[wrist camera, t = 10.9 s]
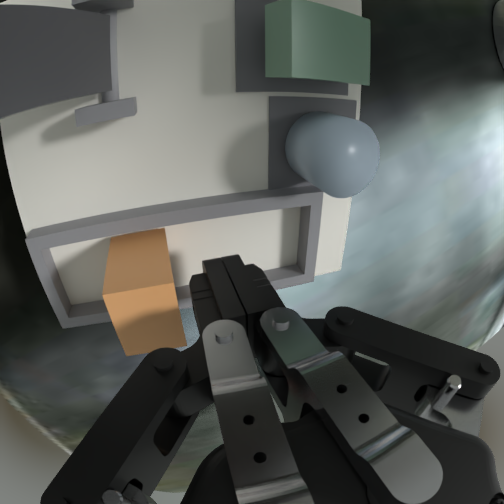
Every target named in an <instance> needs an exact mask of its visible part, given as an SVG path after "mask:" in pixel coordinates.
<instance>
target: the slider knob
mask: <svg viewBox="0 0 504 504" xmlns="http://www.w3.org/2000/svg"><path fill="white" fill-rule="evenodd" d="M102 296H103V299H104V302H105V304H106V307H107V310H108V312H109V315H110V317H111V320H112V323H113V325H114V328H115V330H116V333H117V335H118V337H119V340H120V342H121V344H122V347H123V349H124V351H125V354H126V356H131V355H137V354H143V353H149V352H152V351H153V350H156V349H159V348H164V347H168V348H177V347H183V346H187V343H186V339H185V334H184V329H183V325H182V320H181V315H180V310H179V305H178V300H177V295H176V290H175V284H174V279H173V274H172V268H171V262H170V257H169V251H168V245H167V239H166V232H165V228H161V229H155V230H149V231H144V232H138V233H132V234H127V235H121V236H116V237H111V240H110V246H109V252H108V258H107V264H106V271H105V278H104V285H103V293H102Z"/></svg>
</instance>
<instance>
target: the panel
mask: <svg viewBox="0 0 504 504" xmlns="http://www.w3.org/2000/svg"><path fill="white" fill-rule="evenodd" d="M276 1H279V0H7V1H4V2H2V3H0V4H14V5H38V6H50V7H60V8H69V9H76V10H83V11H90V12H95V13H101V14H106V15H110V55H111V78H112V91H107V92H102V93H98V94H93V95H89V96H84V97H79V98H74V99H70V100H66V101H61V102H57V103H53V104H49V105H46V106H42V107H38V108H35V109H31V110H28V111H25V112H21V113H18V114H15V115H12V116H9V117H6V118H3V119H0V126H1V133H2V139H3V145H4V151H5V156H6V162H7V166H8V171H9V176H10V180H11V184H12V188H13V192H14V196H15V200H16V204H17V207H18V211H19V214H20V217H21V221H22V224H23V227H24V230H25V233H26V236H27V238H26V239H25V242H26V244H27V247H28V250H29V253H30V255H31V258H32V261H33V263H34V266H35V269H36V271H37V274H38V276H39V278H40V281H41V283H42V286H43V288H44V290H45V292H46V295H47V297H48V299H49V301H50V304H51V306H52V308H53V310H54V312H55V314H56V316H57V318H58V320H59V322H60V324H61V326H62V328H70V327H77V326H84V325H90V324H97V323H103V322H110V321H112V320H111V317H110V315H109V312H108V310H107V307H106V304H105V302H104V299H103V296H102V293H103V285H104V278H105V271H106V264H107V258H108V252H109V246H110V240H111V237H116V236H121V235H127V234H132V233H138V232H144V231H149V230H155V229H161V228H165V232H166V239H167V245H168V251H169V257H170V262H171V268H172V274H173V279H174V284H175V290H176V295H177V300H178V305H179V309H184V308H190V307H193V306H192V300H191V294H190V288H189V282H190V279H191V276H192V275H195V274H200V273H203V268H202V260H208V259H213V258H219V257H220V258H221V257H224V256H230V255H235V254H239V255H240V257H241V259H242V261H243V263H244V264H245V265H248V264H255V265H256V266H258V267H259V268H261V269H262V270H263V272H264V273H265V275H266V276H267V279H268V280H269V281H270V283H271V285H272V286H273V288H274V289H275V290H278V289H282V288H287V287H291V286H296V285H300V284H304V283H309V282H313V281H314V276H317V275H322V274H326V273H331V272H335V271H339V270H341V264H342V258H343V252H344V246H345V240H346V234H347V227H348V220H349V213H350V206H351V198H352V197H348V198H335V197H332V196H329V195H327V194H326V193H325V192H323V191H322V190H320V189H319V188H317V187H316V186H314V185H313V184H311V183H310V182H308V181H307V180H305V179H304V178H302V177H301V176H299V175H298V174H297V173H296V172H294V171H293V169H292V168H291V167H290V165H289V163H288V161H287V158H286V153H285V143H286V138H287V135H288V132H289V130H290V128H291V127H292V125H293V124H294V123H295V122H296V121H297V120H298V119H299V118H300V117H302V116H303V115H305V114H307V113H310V112H314V111H323V112H328V113H332V114H336V115H340V116H344V117H348V118H352V119H355V120H359V117H360V100H361V85H360V84H351V83H341V82H332V81H322V80H310V79H296V78H273V77H265V5H267V4H270V3H273V2H276ZM308 1H312V2H316V3H319V4H323V5H327V6H330V7H333V8H337V9H340V10H343V11H346V12H349V13H352V14H355V15H358V16H361V17H362V3H361V0H308Z"/></svg>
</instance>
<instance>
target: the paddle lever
mask: <svg viewBox="0 0 504 504" xmlns="http://www.w3.org/2000/svg"><path fill="white" fill-rule="evenodd" d="M107 91H112V78H111V55H110V15H106V14H101V13H95V12H90V11H83V10H76V9H69V8H60V7H50V6H38V5H14V4H0V119H3V118H6V117H9V116H12V115H15V114H18V113H21V112H25V111H28V110H31V109H35V108H38V107H42V106H46V105H49V104H53V103H57V102H61V101H66V100H70V99H74V98H79V97H84V96H89V95H93V94H98V93H102V92H107Z"/></svg>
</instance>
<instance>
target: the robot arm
mask: <svg viewBox="0 0 504 504" xmlns="http://www.w3.org/2000/svg"><path fill="white" fill-rule="evenodd" d="M493 30H494V37H495V43H496V47H497V51H498V55H499V58H500V61H501V64H502V66H503V68H504V1H503V0H500V1H498V2H497V3H496V5H495V7H494V11H493ZM202 268H203V273H200V274H195V275H192V276H191V279H190V282H189V288H190V294H191V300H192V306H193V311H194V315H195V319H196V323H197V327H198V330H199V334H200V337H199V339H198V340H197V342H196V343H195V344H194V345H192V346H191V347H189V348H187V349H185V350H183V351H181V352H180V351H179V350H176V349H174V348H168V347H164V348H159V349H156V350H153V351H152V352H150V353H149V354H148V355H147V356H146V357H145V358H144V359H143V361H142V362H141V363H140V365H139V366H138V367H137V368H136V370H135V371H134V372H133V374H132V375H131V376H130V378H129V379H128V380H127V381H126V383H125V384H124V385H123V387H122V388H121V389H120V391H119V392H118V393H117V394H116V396H115V397H114V398H113V400H112V401H111V402H110V404H109V405H108V406H107V408H106V409H105V410H104V412H103V413H102V414H101V416H100V417H99V418H98V420H97V421H96V422H95V424H94V425H93V426H92V428H91V429H90V430H89V432H88V433H87V434H86V436H85V437H84V438H83V440H82V441H81V442H80V444H79V445H78V446H77V448H76V449H75V450H74V452H73V453H72V454H71V456H70V457H69V459H68V460H67V461H66V463H65V464H64V465H63V467H62V468H61V469H60V471H59V472H58V474H57V475H56V477H55V478H54V479H53V480H52V482H51V483H50V485H49V486H48V488H47V489H46V490H45V492H44V493H43V495H42V497H41V502H40V503H41V504H157V503H156V502H155V501H154V500H153V499H152V498H151V497H150V496H151V494H152V493H153V491H154V490H155V488H156V486H157V485H158V483H159V481H160V480H161V478H162V476H163V475H164V473H165V471H166V470H167V468H168V466H169V464H170V463H171V461H172V459H173V458H174V456H175V454H176V453H177V451H178V449H179V447H180V446H181V444H182V442H183V441H184V439H185V437H186V435H187V434H188V432H189V430H190V428H191V427H192V425H193V423H194V422H195V420H196V418H197V416H198V414H199V410H201V409H203V408H205V407H207V406H208V405H210V404H212V403H214V402H215V407H216V411H217V416H218V421H219V425H220V430H221V434H222V439H223V443H224V444H222V445H220V446H219V447H217V448H216V449H214V450H213V451H212V452H211V453H210V454H209V455H208V456H207V457H206V458H205V459H204V460H203V461H202V463H201V464H200V466H199V467H198V469H197V471H196V473H195V475H194V477H193V479H192V481H191V483H190V485H189V487H188V489H187V491H186V493H185V495H184V497H183V499H182V501H181V503H180V504H504V494H503V493H502V491H501V488H500V485H499V482H498V478H497V473H496V466H495V460H494V456H493V453H492V451H491V449H490V448H489V446H488V445H487V444H486V443H485V442H484V441H483V440H482V439H480V438H479V437H478V436H479V431H480V424H481V418H482V410H483V402H484V397H485V396H486V395H487V393H488V392H489V391H490V390H491V388H492V387H493V386H494V385H495V384H496V382H497V381H498V380H499V378H500V369H499V366H498V364H497V363H496V361H494V359H493V358H491V357H490V356H488V355H485V354H482V353H479V352H476V351H473V350H470V349H467V348H465V347H462V346H459V345H456V344H453V343H450V342H447V341H444V340H441V339H438V338H435V337H432V336H429V335H426V334H424V333H421V332H418V331H415V330H412V329H409V328H406V327H403V326H401V325H398V324H395V323H392V322H389V321H386V320H384V319H381V318H378V317H375V316H372V315H369V314H367V313H364V312H361V311H358V310H356V309H353V308H350V307H335V308H333V309H331V310H330V311H328V313H327V314H326V317H325V319H306V318H301V317H300V315H299V314H298V313H297V312H295V311H294V310H292V309H289V308H286V307H285V305H284V304H283V302H282V301H281V299H280V297H279V296H278V294H277V293H276V291H275V289H274V288H273V286H272V285H271V283H270V281H269V280H268V279H267V276H266V275H265V273H264V272H263V270H262V269H261V268H259V267H258V266H256V265H255V264H248V265H245V264H244V263H243V261H242V259H241V257H240V255H239V254H235V255H230V256H224V257H221V258H220V257H219V258H213V259H208V260H202ZM355 352H359V353H362V354H364V355H367V356H370V357H372V358H375V359H378V360H380V361H383V362H386V363H387V364H389V365H387V366H384V365H381V364H378V363H375V362H373V361H370V360H367V359H365V358H362V357H359V356H357V355H355ZM254 358H257V359H258V361H259V363H260V374H261V376H260V374H259V371H258V368H257V365H256V362H255V359H254ZM271 394H272V396H273V398H274V400H275V401H276V403H277V405H278V407H279V408H280V410H281V412H282V415H283V418H284V423H281V422H280V419H279V416H278V413H277V410H276V408H275V405H274V402H273V399H272V396H271Z"/></svg>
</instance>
